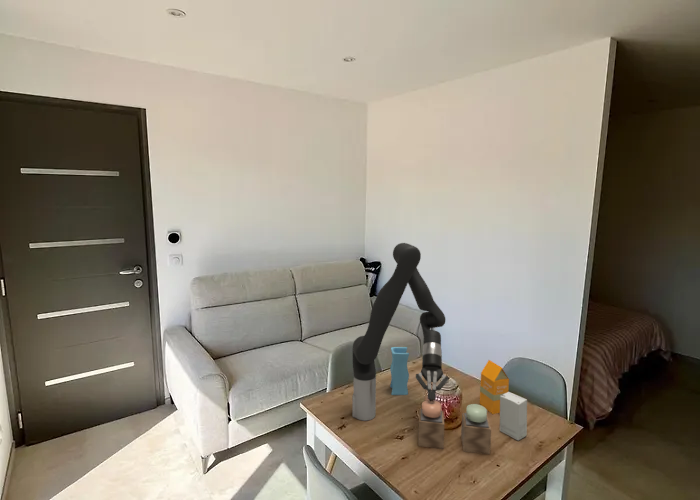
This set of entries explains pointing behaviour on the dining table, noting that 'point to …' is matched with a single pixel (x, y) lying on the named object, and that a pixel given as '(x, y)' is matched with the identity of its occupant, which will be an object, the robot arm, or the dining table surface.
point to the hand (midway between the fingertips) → (431, 400)
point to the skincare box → (513, 415)
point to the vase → (399, 371)
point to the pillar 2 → (475, 435)
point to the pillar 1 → (431, 431)
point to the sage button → (476, 413)
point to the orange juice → (493, 386)
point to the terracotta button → (431, 408)
